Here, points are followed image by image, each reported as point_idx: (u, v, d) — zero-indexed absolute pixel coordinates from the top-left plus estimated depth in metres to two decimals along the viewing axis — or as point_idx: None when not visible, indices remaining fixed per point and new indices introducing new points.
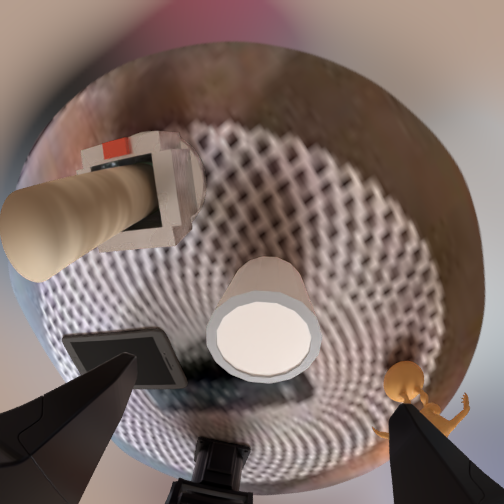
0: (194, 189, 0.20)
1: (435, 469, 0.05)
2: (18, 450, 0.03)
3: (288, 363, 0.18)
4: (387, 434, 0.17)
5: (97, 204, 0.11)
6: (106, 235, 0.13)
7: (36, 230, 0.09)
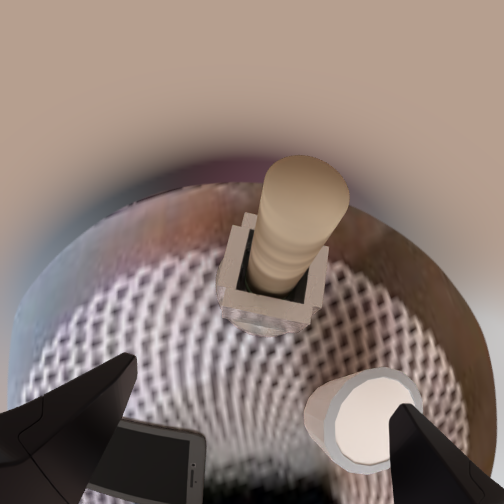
0: None
1: (435, 469, 0.05)
2: (18, 450, 0.03)
3: None
4: None
5: None
6: (312, 258, 0.15)
7: (325, 189, 0.12)
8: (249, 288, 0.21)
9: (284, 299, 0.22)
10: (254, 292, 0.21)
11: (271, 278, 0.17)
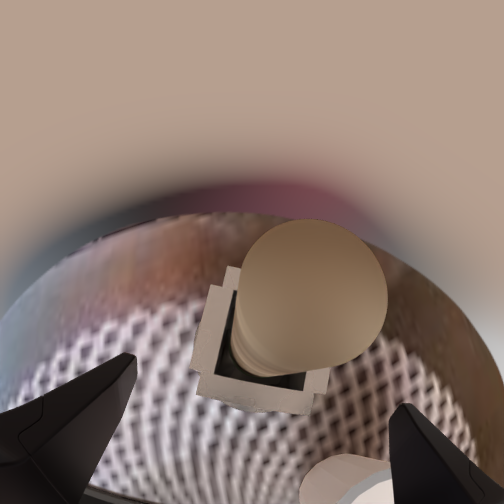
0: None
1: (435, 469, 0.05)
2: (18, 450, 0.03)
3: None
4: None
5: None
6: None
7: (349, 287, 0.07)
8: (234, 362, 0.16)
9: None
10: (240, 368, 0.16)
11: (259, 372, 0.12)
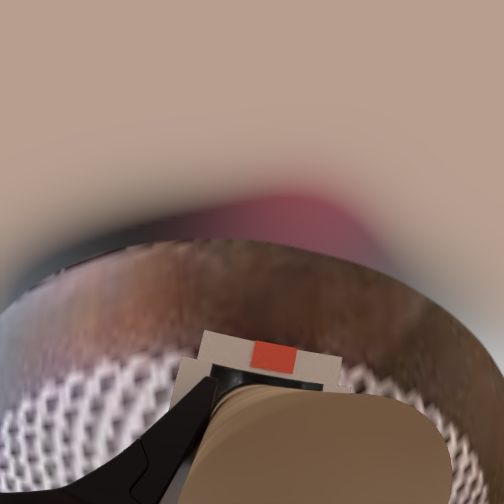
0: None
1: None
2: None
3: None
4: None
5: None
6: None
7: None
8: None
9: None
10: None
11: None
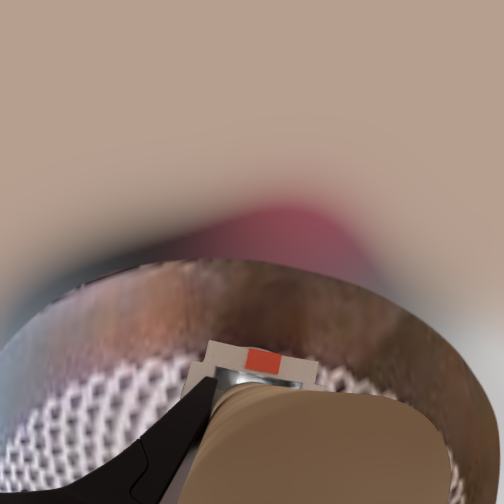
0: None
1: None
2: None
3: None
4: None
5: None
6: None
7: None
8: None
9: None
10: None
11: None
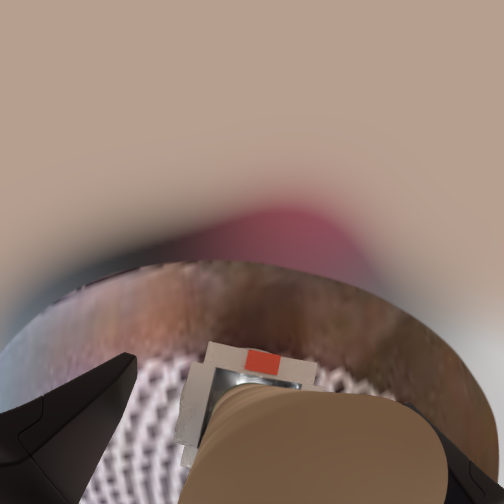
0: None
1: None
2: (18, 450, 0.03)
3: None
4: None
5: None
6: None
7: None
8: None
9: None
10: None
11: None
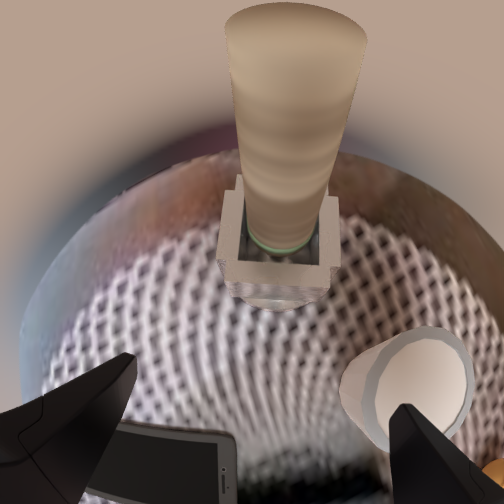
0: None
1: (435, 469, 0.05)
2: (18, 450, 0.03)
3: (443, 423, 0.11)
4: None
5: None
6: (332, 151, 0.09)
7: (324, 24, 0.06)
8: (254, 236, 0.16)
9: (304, 244, 0.16)
10: (261, 239, 0.15)
11: (276, 202, 0.11)
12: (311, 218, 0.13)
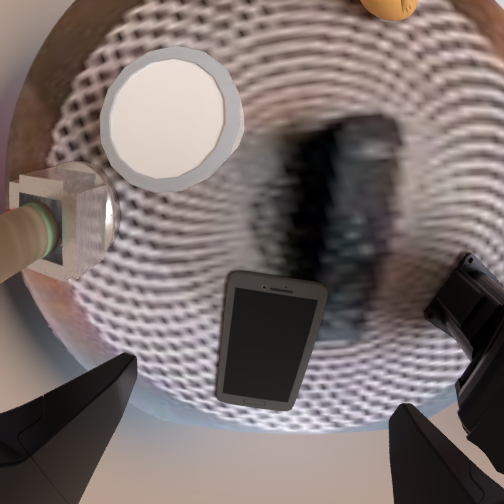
0: (77, 171, 0.18)
1: (435, 469, 0.05)
2: (18, 450, 0.03)
3: (208, 91, 0.11)
4: None
5: None
6: None
7: None
8: (41, 257, 0.16)
9: (46, 215, 0.15)
10: (41, 254, 0.15)
11: None
12: (14, 229, 0.12)
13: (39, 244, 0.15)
